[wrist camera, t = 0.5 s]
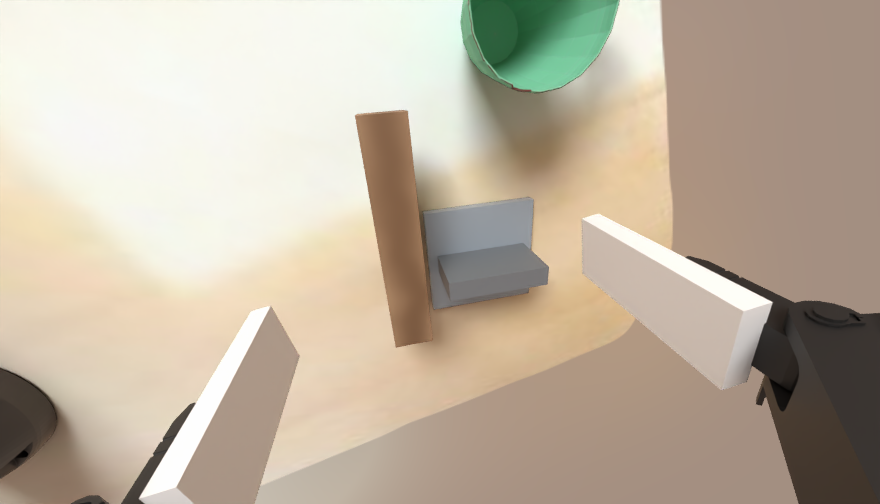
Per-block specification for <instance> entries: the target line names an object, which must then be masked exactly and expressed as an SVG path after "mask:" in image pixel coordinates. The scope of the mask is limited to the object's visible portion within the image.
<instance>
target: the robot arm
mask: <svg viewBox="0 0 880 504" xmlns="http://www.w3.org/2000/svg"><path fill="white" fill-rule="evenodd" d="M582 274H584V275H585V276H586V277H587V278H588V279H590V280H591V281H592V282H593V283H594V284H596V285H597V286H598V287H599V288H600V289H602V290H603V291H604V292H605V293H606V294H607V295H609V296H610V297H611V298H612V299H613V300H615V301H616V302H617V303H618V304H619V305H621V306H622V307H623V308H624V309H625V310H627V311H628V312H629V313H630V314H631V315H632V316H634V317H635V318H636V319H637V320H638V321H640V322H641V323H642V324H643V325H645V326H646V327H647V328H648V329H649V330H650V331H652V332H653V333H654V334H655V335H656V336H658V337H659V338H660V339H661V340H663V342H665V343H666V344H667V345H668V346H670V347H671V348H672V349H673V350H674V351H675V352H677V353H678V354H679V355H681V356H682V357H683V358H684V359H685V360H686V361H687V362H689V363H690V364H691V365H692V366H693V367H695V368H696V369H697V370H698V371H699V372H701V373H702V374H703V375H704V376H705V377H706V378H708V379H709V380H710V381H711V382H712V383H714V384H715V385H716V386H717V387H718V388H720V389H721V390H724V389H727V388H730V387H733V386H736V385H739V384H742V383H745V382H747V380H748V377H749V373H750V370H751V367H752V366H753V367H755V368H756V369H758V370H759V371H761V372H762V373H763V374H765V376H764V378H763V381H762V384H761V387H760V389H759V392H758V395H757V399H756V404H757V405H762V404H763V401H764V398H765V397H767V400H768V404H769V407H770V410H771V414H772V417H773V420H774V424H775V427H776V430H777V433H778V437H779V440H780V443H781V446H782V450H783V453H784V457H785V460H786V463H787V466H788V470H789V473H790V476H791V479H792V483H793V486H794V489H795V493H796V496H797V499H798V503H799V504H880V313H873V314H859V313H857V312H855V311H854V310H852V309H849V308H846V307H843V306H839V305H836V304H832V303H827V302H821V301H801V302H797V303H794V302H792V301H790V300H788V299H786V298H784V297H782V296H780V295H777V294H775V293H773V292H771V291H769V290H767V289H765V288H763V287H761V286H759V285H757V284H754V283H753V282H750V281H748V280H746V279H744V278H739V276H738V275H736V274H734V273H732V272H730V271H725V269H724V268H722V267H719V266H717V265H715V264H713V263H711V262H709V261H706V260H702V259H698V258H694V257H691V256H687V257H683V256H681V255H679V254H677V253H675V252H673V251H671V250H669V249H667V248H665V247H663V246H661V245H659V244H657V243H655V242H653V241H651V240H649V239H647V238H645V237H643V236H641V235H639V234H637V233H636V232H634V231H632V230H630V229H628V228H626V227H624V226H622V225H620V224H618V223H616V222H614V221H612V220H610V219H608V218H606V217H604V216H602V215H600V214H596V215H593V216H589V217H586V218H582ZM298 359H299V354H298V352H297V351H296V349H295V347H294V345H293V344H292V342H291V340H290V338H289V337H288V335H287V333H286V331H285V330H284V328H283V326H282V324H281V323H280V321H279V319H278V317H277V316H276V314H275V312H274V310H273V309H272V307H271V306H268V307H264V308H261V309H257V310H254V311H251V313H250V314H249V316H248V318H247V319H246V321H245V323H244V324H243V326H242V328H241V329H240V331H239V333H238V334H237V336H236V338H235V339H234V341H233V343H232V344H231V346H230V348H229V349H228V351H227V353H226V354H225V356H224V358H223V359H222V361H221V363H220V364H219V366H218V368H217V369H216V371H215V373H214V374H213V376H212V378H211V379H210V381H209V383H208V384H207V386H206V387H205V389H204V391H203V392H202V394H201V396H200V397H199V399H198V401H197V402H196V403H192V404H190V405H189V406H188V407H187V408H186V409H185V410H184V411H183V412H182V413H181V414H180V415H179V416H178V417H177V418H176V419H175V420H174V422H173V423H172V425H171V426H170V428H169V430H168V431H167V433H166V434H165V436H164V437H163V442H160V444H159V445H158V447H157V448H156V450H155V452H154V453H153V454H154V456H153V457H151V458H150V459H149V461H148V463H147V464H146V466H145V467H144V469H143V470H142V472H141V474H140V475H139V477H138V478H137V480H136V481H135V483H134V485H133V486H132V488H131V489H130V491H129V492H128V494H127V496H126V497H125V499H124V500H123V502H122V503H121V504H255V500H256V497H257V494H258V490H259V487H260V484H261V481H262V477H263V474H264V471H265V468H266V464H267V461H268V458H269V454H270V451H271V448H272V445H273V441H274V438H275V435H276V431H277V428H278V425H279V422H280V418H281V415H282V412H283V409H284V405H285V402H286V399H287V395H288V392H289V389H290V386H291V382H292V379H293V376H294V373H295V369H296V366H297V363H298ZM55 427H56V415H55V411H54V409H53V407H52V405H51V403H50V402H49V401H48V399H47V398H46V397H45V396H44V395H43V394H42V393H41V392H40V391H39V390H38V389H36V388H35V387H34V386H32V385H31V384H30V383H28V382H26V381H25V380H23V379H21V378H19V377H18V376H16V375H13V374H11V373H9V372H7V371H4V370H2V369H0V479H1V478H2V477H4V476H5V475H7V474H8V473H10V472H11V471H13V470H15V469H16V468H18V467H19V466H20V465H22V464H23V463H25V462H26V461H27V460H28V459H30V458H31V457H32V456H33V455H34V454H35V453H36V452H37V451H38V450H39V449H40V448H41V447H42V446H43V444H44V443H45V442H46V441H47V440H48V439H49V438H50V437H51V436H52V434H53V432H54V430H55ZM71 504H109V503H108V502H106V501H105V500H104V499H102V498H101V497H100V496H87V497H84V498H82V499H79V500H77V501H75V502H73V503H71Z"/></svg>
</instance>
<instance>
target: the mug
mask: <svg viewBox="0 0 880 504" xmlns="http://www.w3.org/2000/svg"><path fill="white" fill-rule="evenodd" d="M619 1H620V0H463V5H462V14H461V30H462V37H463V43H464V45H465V48H466V50H467V52H468V55H469V57H470V59H471V61H472V62H473V63H474V64H475V65H476V66H477V68H478V69H479V70H480V71H481V72H482V73H484V74H485V75H487V76H489V77H490V78H492V79H494V80H496V81H497V82H499V83H501V84H503V85H505V86H507V87H509V88H511V89H514V90H517V91H521V92H528V93H542V92H546V91H551V90H555V89H559V88H562V87H563V86H565V85H566V84H568V83H570V82H571V81H573V80H574V79H576V78H578V77H579V76H581V75H582V74H583V72H584V71H585V70H586V69H587V68H588V67H589V66H590V65H591V64H592V62H593V61H594V60H595V59H596V58H597V57H598V55H599V54H600V52H601V50H602V48H603V46H604V44H605V42H606V41H607V39H608V37H609V35H610V33H611V31H612V27H613V24H614V20H615V16H616V13H617V9H618V6H619Z"/></svg>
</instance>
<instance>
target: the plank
mask: <svg viewBox="0 0 880 504" xmlns="http://www.w3.org/2000/svg"><path fill="white" fill-rule="evenodd" d="M355 118H356V124H357V130H358V135H359V141H360V147H361V152H362V158H363V164H364V169H365V175H366V181H367V186H368V192H369V198H370V203H371V209H372V215H373V220H374V226H375V232H376V237H377V243H378V249H379V254H380V260H381V266H382V271H383V277H384V283H385V288H386V294H387V299H388V305H389V311H390V316H391V322H392V328H393V333H394V339H395V345H396V347H401V346H406V345H411V344H416V343H422V342H427V341H432V340H433V338H432V329H431V320H430V311H429V302H428V293H427V284H426V274H425V265H424V256H423V247H422V238H421V229H420V220H419V211H418V201H417V192H416V183H415V174H414V165H413V156H412V147H411V137H410V128H409V119H408V111H405V110H398V111H386V112H375V113H364V114H357V115H355Z"/></svg>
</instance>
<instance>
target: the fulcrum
mask: <svg viewBox="0 0 880 504" xmlns="http://www.w3.org/2000/svg"><path fill="white" fill-rule="evenodd" d="M533 201H534V199H532V198H530V197H526V198H519V199H511V200H504V201H496V202H489V203H481V204H474V205H466V206H459V207H451V208H444V209H436V210H429V211H423V219H424V229H425V238H426V248H427V258H428V267H429V277H430V287H431V296H432V305H433V309H434V310H435V309H440V308H446V307H452V306H457V305H463V304H468V303H474V302H480V301H485V300H491V299H497V298H502V297H508V296H513V295H519V294H525V293H528V292H529V288H530V287H535V286H541V285H547V284H548V272H549V267H548V266H547V265H546V264H545V263H544V262H543V261H542V260H541V259H540V258H539V257H538V256H537V255H536V254H534V253H533V252H532V251H531V237H532V219H533Z"/></svg>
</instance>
